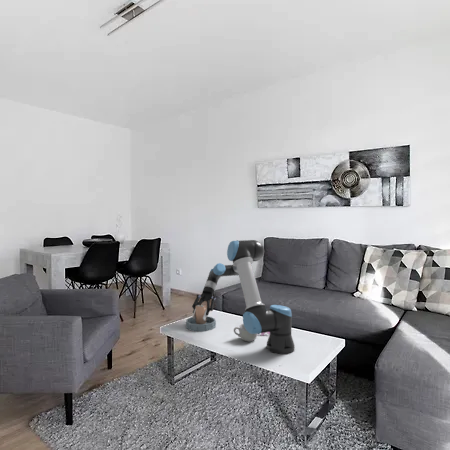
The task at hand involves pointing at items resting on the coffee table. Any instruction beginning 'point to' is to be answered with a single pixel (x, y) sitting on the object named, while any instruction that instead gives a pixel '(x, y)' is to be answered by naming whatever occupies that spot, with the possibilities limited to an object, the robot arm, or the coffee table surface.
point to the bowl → (207, 326)
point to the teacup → (245, 333)
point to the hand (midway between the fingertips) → (198, 318)
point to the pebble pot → (200, 314)
